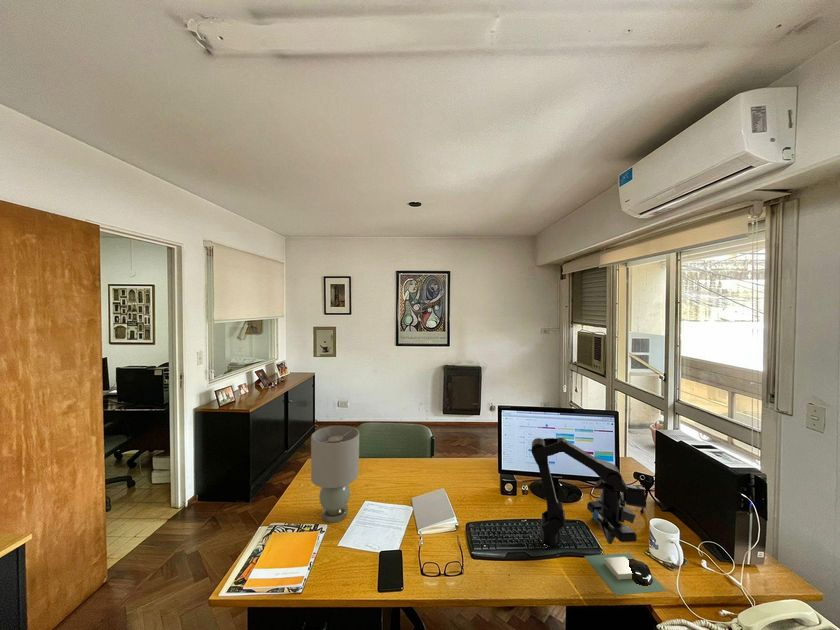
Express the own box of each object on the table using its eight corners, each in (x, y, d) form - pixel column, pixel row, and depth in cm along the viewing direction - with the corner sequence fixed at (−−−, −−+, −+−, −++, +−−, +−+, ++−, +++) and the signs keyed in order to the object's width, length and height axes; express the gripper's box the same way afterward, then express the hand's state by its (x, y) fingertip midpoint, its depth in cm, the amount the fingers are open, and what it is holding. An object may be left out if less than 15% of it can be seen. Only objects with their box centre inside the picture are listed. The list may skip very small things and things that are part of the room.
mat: (615, 596, 101) (615, 595, 101) (583, 557, 117) (583, 556, 117) (667, 591, 103) (667, 590, 103) (629, 554, 119) (629, 552, 119)
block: (603, 563, 114) (618, 580, 107) (604, 558, 114) (618, 574, 107) (624, 562, 114) (640, 578, 107) (624, 556, 114) (640, 572, 107)
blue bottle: (604, 527, 133) (604, 499, 133) (592, 518, 139) (593, 490, 139) (616, 525, 135) (616, 497, 135) (604, 516, 141) (604, 489, 141)
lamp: (346, 534, 127) (347, 445, 126) (300, 526, 131) (301, 440, 130) (365, 504, 147) (366, 427, 146) (324, 498, 151) (325, 423, 150)
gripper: (652, 516, 108) (650, 561, 108) (613, 485, 126) (612, 524, 127) (621, 517, 107) (620, 564, 107) (586, 486, 125) (585, 526, 126)
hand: (609, 543), depth 117 cm, fingers closed
